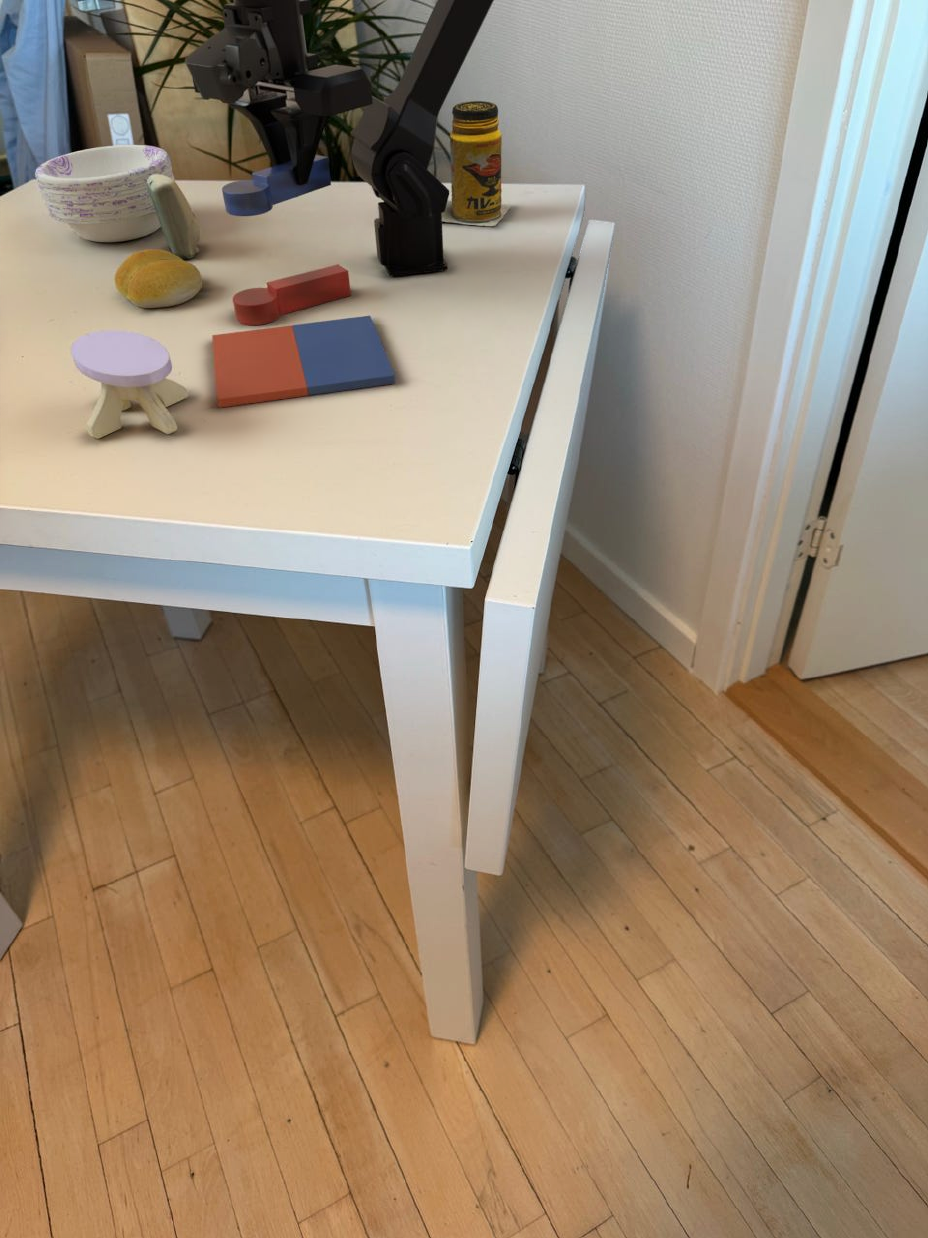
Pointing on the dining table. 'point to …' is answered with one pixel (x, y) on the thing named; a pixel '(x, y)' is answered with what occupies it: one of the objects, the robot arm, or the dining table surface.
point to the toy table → (127, 378)
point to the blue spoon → (272, 188)
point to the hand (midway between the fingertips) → (293, 182)
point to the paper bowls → (104, 190)
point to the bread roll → (157, 279)
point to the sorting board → (299, 361)
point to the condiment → (475, 166)
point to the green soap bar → (174, 216)
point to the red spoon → (291, 295)
